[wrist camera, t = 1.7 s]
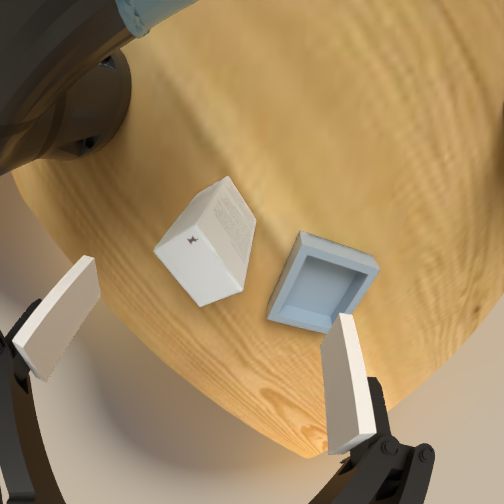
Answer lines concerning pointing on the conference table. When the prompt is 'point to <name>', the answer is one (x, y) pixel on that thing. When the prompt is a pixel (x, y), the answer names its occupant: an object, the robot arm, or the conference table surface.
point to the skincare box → (210, 244)
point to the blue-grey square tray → (320, 283)
